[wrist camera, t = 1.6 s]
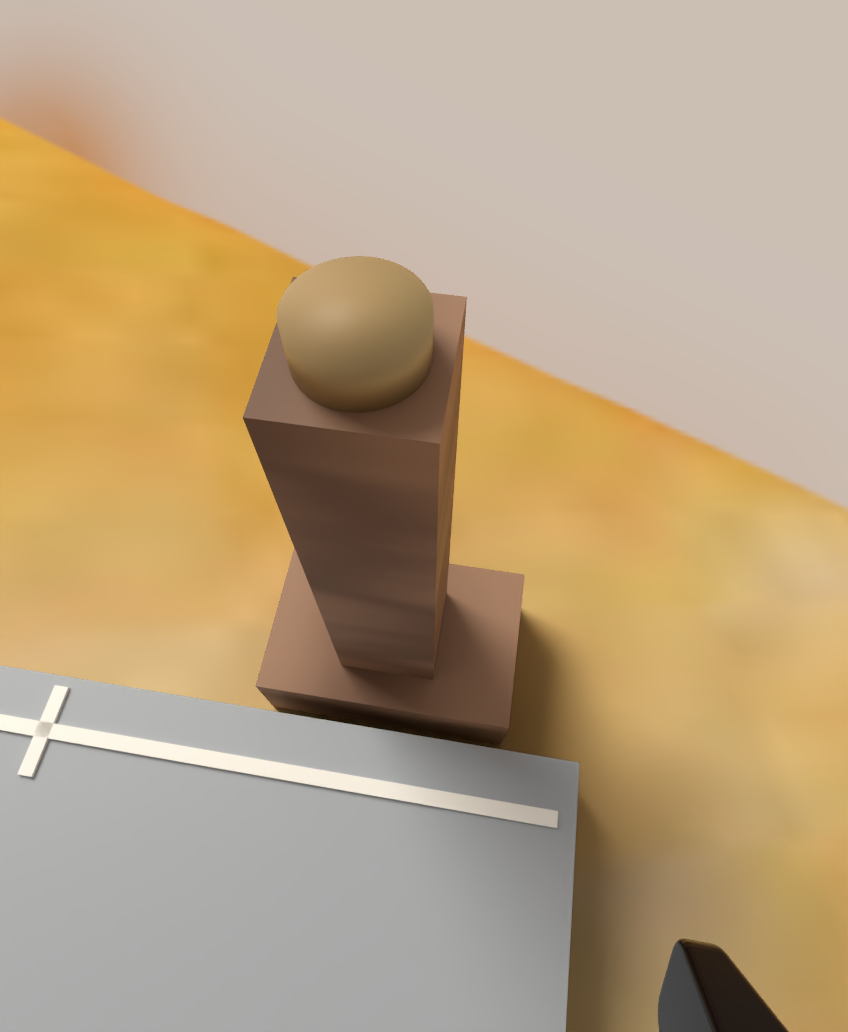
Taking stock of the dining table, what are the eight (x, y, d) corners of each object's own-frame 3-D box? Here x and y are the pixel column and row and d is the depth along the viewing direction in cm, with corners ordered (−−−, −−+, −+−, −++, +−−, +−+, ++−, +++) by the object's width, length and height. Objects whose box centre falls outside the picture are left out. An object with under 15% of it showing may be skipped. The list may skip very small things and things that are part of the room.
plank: (566, 773, 20) (580, 761, 18) (538, 1239, 15) (553, 1288, 13) (-67, 666, 22) (-114, 645, 20) (-268, 1057, 17) (-354, 1079, 15)
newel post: (514, 604, 22) (635, 222, 9) (500, 744, 20) (629, 500, 7) (308, 573, 23) (154, 172, 10) (273, 706, 21) (20, 417, 8)
